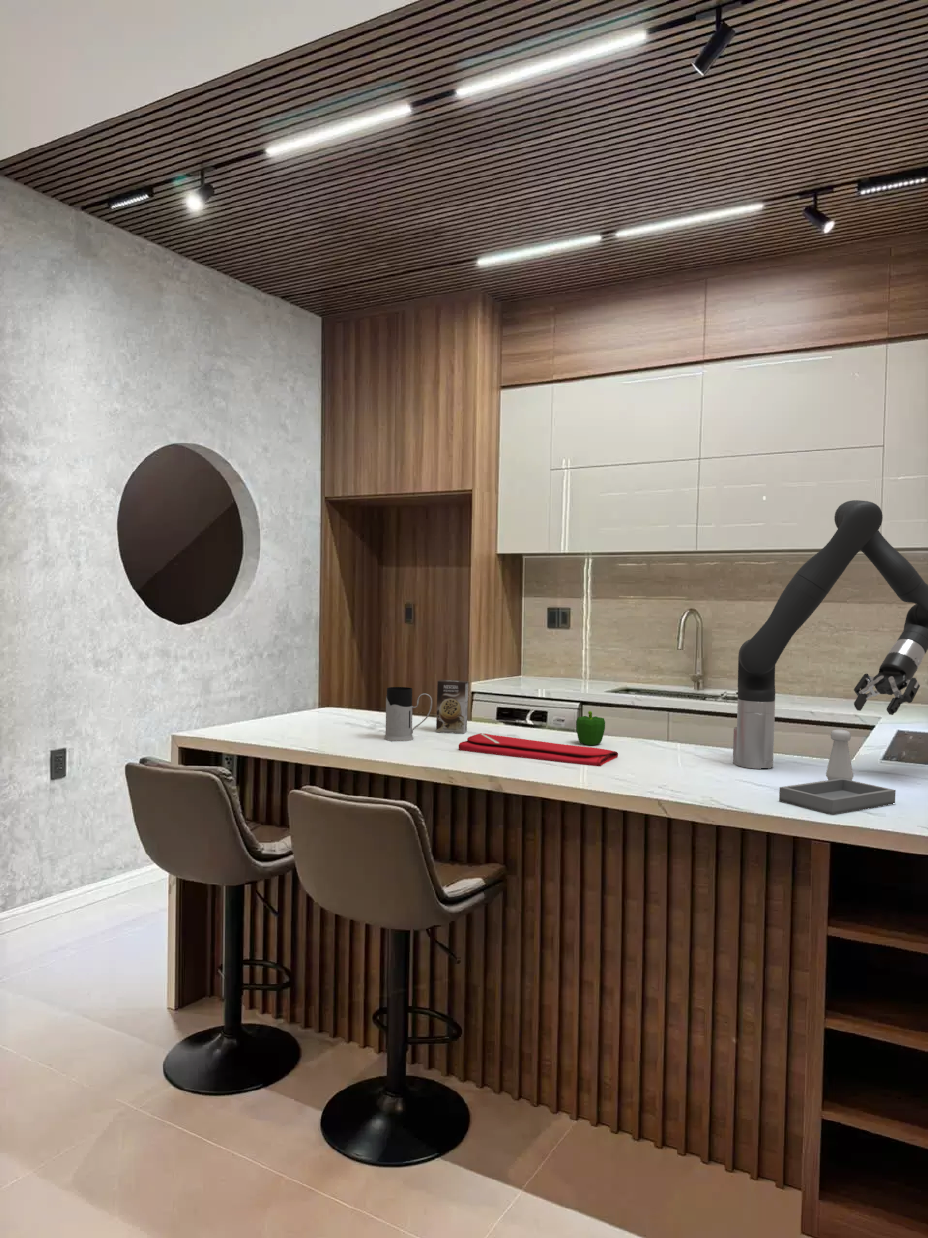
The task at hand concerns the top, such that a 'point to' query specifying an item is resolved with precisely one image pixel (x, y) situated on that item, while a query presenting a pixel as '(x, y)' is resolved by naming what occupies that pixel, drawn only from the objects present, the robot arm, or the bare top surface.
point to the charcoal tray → (836, 796)
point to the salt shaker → (840, 757)
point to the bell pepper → (590, 729)
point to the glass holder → (400, 714)
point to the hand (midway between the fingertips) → (872, 710)
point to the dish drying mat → (536, 750)
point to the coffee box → (452, 706)
